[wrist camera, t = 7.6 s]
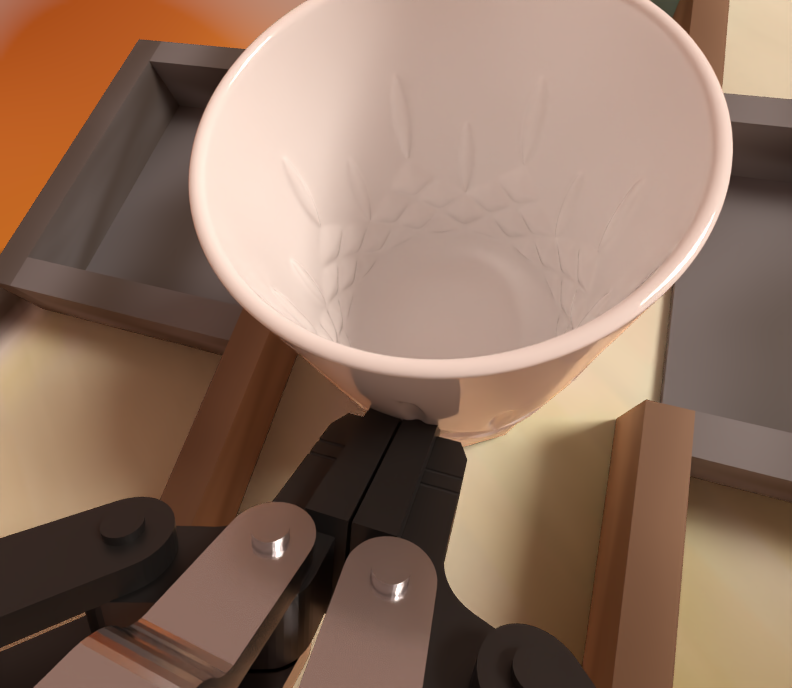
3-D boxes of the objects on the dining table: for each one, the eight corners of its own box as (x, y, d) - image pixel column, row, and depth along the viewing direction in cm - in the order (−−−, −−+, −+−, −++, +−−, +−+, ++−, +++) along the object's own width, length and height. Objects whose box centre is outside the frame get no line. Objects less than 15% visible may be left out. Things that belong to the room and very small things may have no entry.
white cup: (394, 229, 18) (325, -72, 9) (597, 290, 16) (781, -18, 7) (303, 411, 16) (86, 263, 7) (525, 507, 14) (654, 487, 5)
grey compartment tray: (986, 18, 18) (1122, -112, 14) (1163, 1057, 9) (1656, 1433, 5) (236, -23, 25) (198, -115, 22) (-86, 527, 16) (-247, 530, 13)
